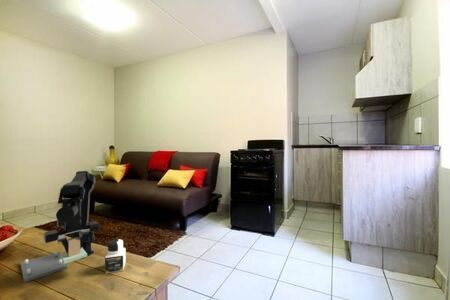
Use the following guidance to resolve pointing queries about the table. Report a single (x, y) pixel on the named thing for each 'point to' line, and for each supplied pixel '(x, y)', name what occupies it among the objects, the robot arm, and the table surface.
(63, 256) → the tan and green block
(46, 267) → the standoff plate
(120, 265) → the medicine bottle
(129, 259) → the table surface
